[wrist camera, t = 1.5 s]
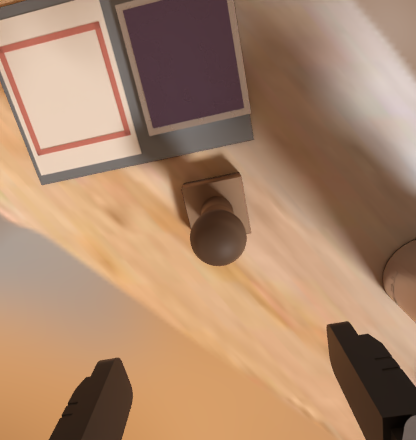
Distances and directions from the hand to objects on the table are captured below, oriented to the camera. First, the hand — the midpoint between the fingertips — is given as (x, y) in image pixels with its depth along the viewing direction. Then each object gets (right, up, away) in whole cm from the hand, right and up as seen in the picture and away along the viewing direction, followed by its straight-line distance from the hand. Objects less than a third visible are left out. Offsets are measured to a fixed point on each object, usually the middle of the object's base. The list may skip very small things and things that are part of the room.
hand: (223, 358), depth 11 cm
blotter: (-9, +19, +17) cm, 27 cm away
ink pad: (-3, +20, +16) cm, 26 cm away
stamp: (0, +7, +21) cm, 22 cm away
